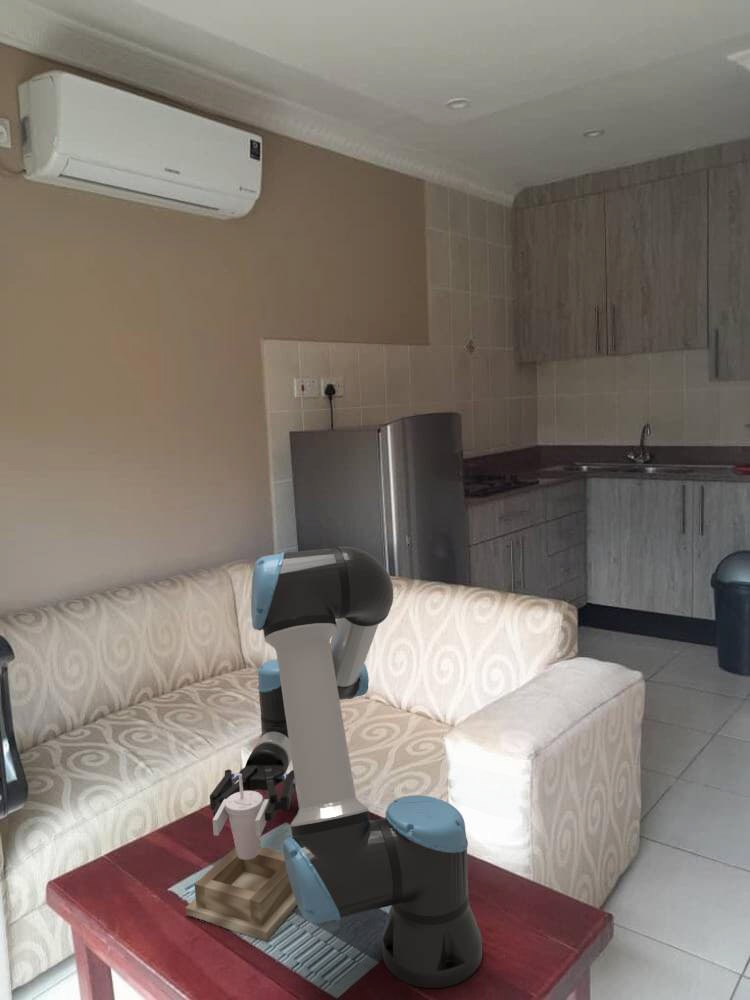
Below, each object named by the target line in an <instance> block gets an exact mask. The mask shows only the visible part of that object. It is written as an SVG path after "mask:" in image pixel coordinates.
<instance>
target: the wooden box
mask: <svg viewBox="0 0 750 1000" xmlns="http://www.w3.org/2000/svg"><path fill="white" fill-rule="evenodd" d="M194 894H195V898H194V899H193V900H192V901H191V902H189V904H188V905H187V906H185V916H186V915H190V916H193V917H196V918H199V919H201V920H202V919H203V920H205V921H207V922H211V923H213V924H212V925H214V924H215V925H214V926H217V927H220V926H221V928H224V929H227V930H231V931H233V932H237V933H239V934H243V935H247V936H249V937H252V938H257V939H259V940H263V941H266V942H267V941H268V940H269V939H270V938H271V937H272V936H273V934H274V933H275V932H276V931H277V930H278V929H279V927H280V926H281V925H282V924H283V923H284V922H285V920H286V919H287V918H288V917H289V916H290V915H291V914H292V912H294V910H295V909H296V908H297V907H298V905H297V902H296V899H295V897H294V894H293V890H292V887H291V884H290V880H289V877H288V873H287V869H286V864H285V859H284V852H282V851H278V850H273V849H271V848H270V849H268V848H265V847H262V846H261V847H260V846H259V854H258V855H257V856H256V857H255V858H252V859H249V860H243V859H240V858H238V856H237V852H236V848H235V847H233V849H231V850H230V851H229V852H228V853H227V854H226V855H225V856H224V857H222V858H221V859H219V861H218V862H216V864H215V865H214V866H212V867H211V868H210V869H209V870H208V871H207V872H206V873H205V874H203V876H201V878H199V879H198V880H197V881H196V882H195V883H194ZM296 906H297V907H296ZM295 907H296V908H295ZM201 920H200V921H201ZM207 922H206V923H207ZM277 928H278V929H277Z"/></svg>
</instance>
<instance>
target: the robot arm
mask: <svg viewBox="0 0 750 1000" xmlns="http://www.w3.org/2000/svg"><path fill="white" fill-rule="evenodd" d="M250 594H251V595H250V599H251V600H250V607H251V608H250V612H251V616H250V617H251V623H252V625H251V626H252V627H253V629H254V630H255V631H256V630H257V631H259V632H260V631H263V637H264V642H265V643H267V644H268V645H269V646H271V647H272V648H274V650H275V654H276V659H275V658H274V659H271V660H268V661H265V662H263V663H262V664H261V665H260V666H259V667H258V672H257V674H258V676H257V677H258V686H257V690H258V696H259V697H258V698H259V707H260V724H261V725H260V726H261V735H260V737H259V739H258V740H257V742H256V744H255V745H254V747H253V749H252V751H251V753H250V754H249V757H248V758H247V760H246V762H245V763H246V764H245V766H244V767H243V768H241V769H240V771H239V772H233V771H232V769H226V770H224V776H223V777H222V779H220V781H219V783H218V784H217V785H216V786H215V788H214V789H213V791H212V792H211V793H210V795H209V804H210V810H211V811H212V814H213V818H212V820H211V821H212V830H213V836H219V835H220V833H221V831H222V830H223V828H224V825H225V823H226V821H227V820H228V819H229V816H228V812H227V811H226V810H225V801H226V799H227V798H228V797H229V796H231V795H232V794H234V793H237V792H240V786H239V774H242V782H243V791H257V790H260V791H266V795H267V799H266V798H263V804H262V806H261V808H260V810H259V813H258V815H257V817H256V819H255V828H256V836H260V837H261V836H262V835H263V834H262V833H263V832H264V829H265V827H266V824H267V822H272V821H273V820H274V818H275V815H276V813H277V812H278V811H279V810H281V811H282V812H288V811H289V810H290V805H291V802H292V801H291V800H292V797H293V793H294V789H295V791H296V799H297V805H298V806H297V807H298V811H297V814H296V815H295V817H294V818H293V820H292V821H291V823H290V829H291V836H289V837H287V838H285V839H284V840H283V841H282V851H283V852H282V853H284V859H285V864H286V869H287V873H288V877H289V880H290V884H291V887H292V890H293V894H294V897H295V899H296V902H297V907H298V909H299V912H300V913H301V915H302V917H303V918H304V919H305V921H307V922H309V923H311V924H320V923H324V922H331V921H334V920H335V921H336V922H338V921H341V919H343V918H346V917H350V916H351V917H352V916H355V915H358V914H363V913H367V912H371V911H375V910H379V909H383V908H388V907H389V912H388V916H387V919H386V923H385V924H384V925H385V926H384V929H383V932H382V935H381V936H382V937H381V946H382V947H381V949H382V959H383V962H384V965H385V966H386V968H387V969H388V970H389V972H390V973H391V974H392V975H393V976H395V977H396V978H398V980H400V981H402V982H404V983H406V984H408V985H411V986H413V987H420V988H426V989H441V988H448V987H451V986H454V985H458V984H460V983H462V982H463V981H465V980H467V979H469V978H470V977H471V976H472V975H473V974H474V973H475V972H476V971H477V969H478V968H479V966H480V964H481V963H482V958H483V939H482V933H481V931H480V928H479V926H478V923H477V921H476V918H475V915H474V913H473V910H472V908H471V906H470V900H469V898H470V897H469V878H468V877H469V873H468V870H469V869H468V867H469V866H468V847H469V846H468V845H469V843H468V842H469V841H468V837H467V833H466V823H465V820H464V817H463V815H462V814H461V813H462V812H460V810H459V809H458V808H456V807H455V806H454V805H452V804H450V803H449V802H447V801H445V800H443V799H439V798H437V797H433V796H430V795H429V796H428V795H418V794H415V795H413V794H412V795H405V796H401V797H398V798H395V799H394V800H393V801H392V802H390V803H389V805H388V806H387V808H386V811H385V817H384V818H378V819H372V820H371V818H370V811H369V808H368V806H366V805H365V804H363V803H362V802H361V801H359V800H358V798H357V796H356V789H355V784H354V783H355V782H354V777H353V772H352V765H351V759H350V755H349V754H350V753H349V749H348V742H347V736H346V730H345V724H344V718H343V713H342V707H341V701H343V700H351V699H354V698H357V697H362V696H364V695H366V694H367V693H368V690H369V684H370V683H369V682H370V680H369V672H368V670H367V669H368V668H367V666H366V663H365V662H366V660H367V657H368V654H369V652H370V650H371V646H372V643H373V640H374V637H375V634H376V632H377V629H378V627H379V624H381V623H383V622H384V621H385V620H386V619H387V617H388V616H389V613H390V611H391V609H392V606H393V602H394V586H393V582H392V578H391V577H390V574H389V572H388V570H387V569H386V568H385V566H383V564H382V563H381V562H380V561H379V559H377V558H376V557H375V556H373V555H371V554H370V553H368V551H365V550H362V549H360V548H357V547H351V546H336V547H334V548H332V547H331V548H322V549H321V548H320V549H310V550H301V551H300V550H299V551H289V552H288V551H287V552H284V551H283V552H280V553H277V554H271V555H264V556H261V557H259V558H258V559H257V560H256V562H255V563H254V566H253V570H252V578H251V593H250ZM340 700H341V701H340ZM291 763H292V770H291V771H290V772H287V771H288V769H289V766H290V764H291ZM281 783H283V787H282V790H281V795H280V797H278V796H277V792H276V786H278V785H279V784H281Z"/></svg>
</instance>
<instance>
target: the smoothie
mask: <svg viewBox="0 0 750 1000" xmlns="http://www.w3.org/2000/svg"><path fill="white" fill-rule="evenodd" d="M238 781H239V786H240V792H237V793H234V794H232V795H231V796H229V797H228V798H227V799H226V801H225V810H226V811H227V812H228V819H229V824H230V830H231V833H232V838H233V842H234V846H235V847H234V848H236V852H237V856H238V858H240V859H243V860H249V859H252V858H255V857H256V856H257V855H258V854H259V847H260V844H261V843H260V842H261V836H256V828H255V819H256V817H257V815H258V813H259V810H260V808H261V806H262V804H263V802H264V797H263V795H262V794H261V793H260V792H258V791H256V790H253V791H243V782H242V774H239V780H238Z"/></svg>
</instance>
